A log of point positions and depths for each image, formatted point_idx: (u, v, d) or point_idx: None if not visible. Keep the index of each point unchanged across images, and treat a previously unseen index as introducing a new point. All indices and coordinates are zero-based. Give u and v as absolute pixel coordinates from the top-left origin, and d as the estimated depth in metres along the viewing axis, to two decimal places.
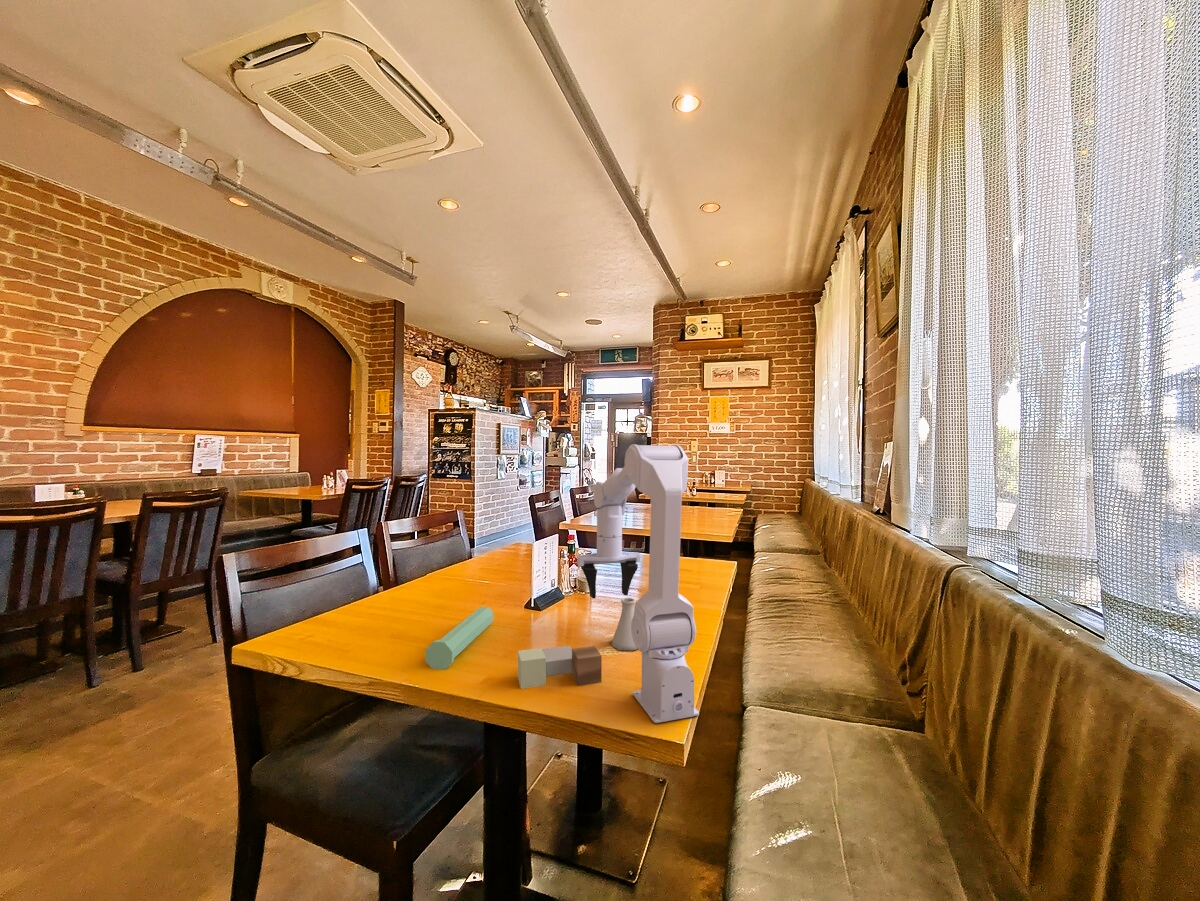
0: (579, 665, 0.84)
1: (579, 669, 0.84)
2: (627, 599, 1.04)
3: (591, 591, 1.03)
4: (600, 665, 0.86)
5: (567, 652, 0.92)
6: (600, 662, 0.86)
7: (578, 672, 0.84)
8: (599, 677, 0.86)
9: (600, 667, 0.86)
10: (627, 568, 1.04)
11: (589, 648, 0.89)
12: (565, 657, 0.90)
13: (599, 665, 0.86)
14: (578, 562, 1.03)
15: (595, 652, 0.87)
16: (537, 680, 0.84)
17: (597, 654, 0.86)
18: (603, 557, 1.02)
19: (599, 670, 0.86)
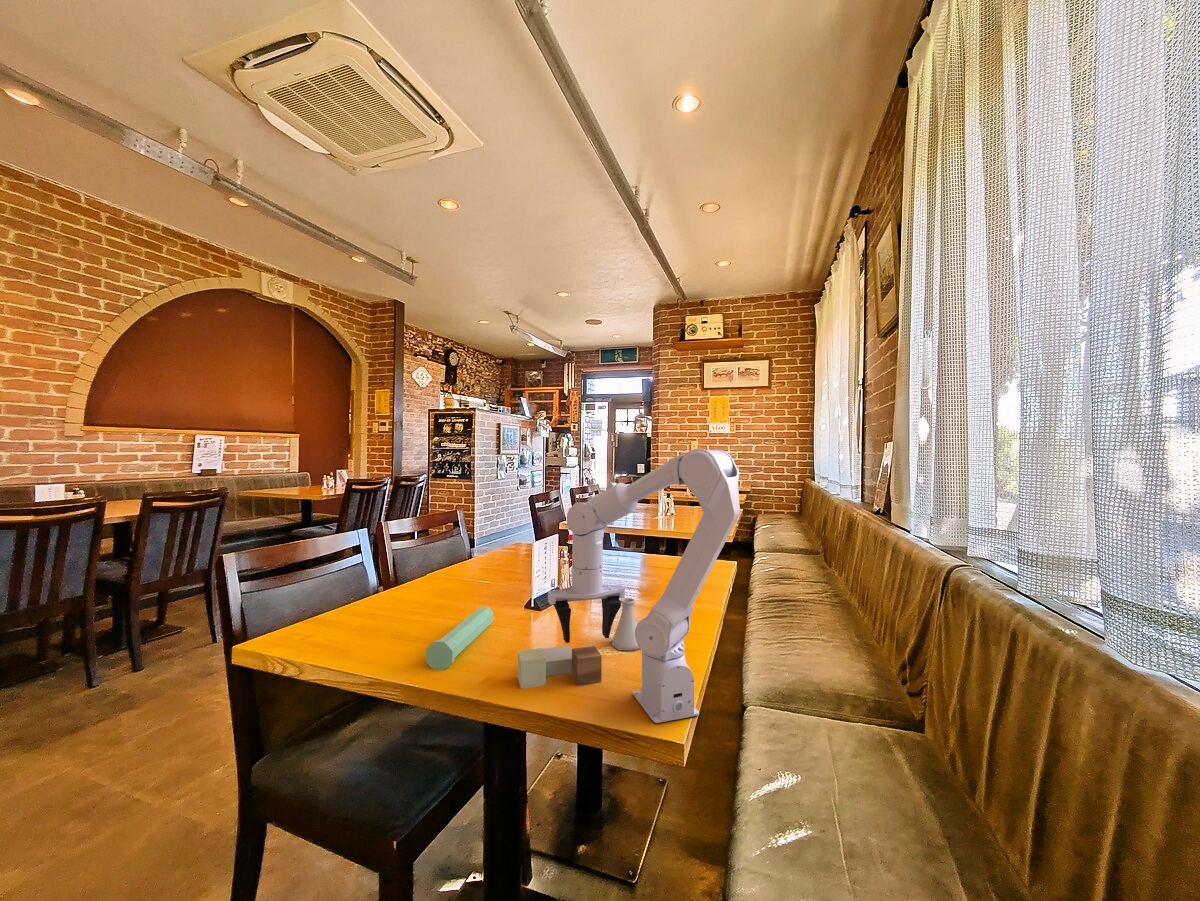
0: (579, 665, 0.84)
1: (579, 669, 0.84)
2: (627, 599, 1.04)
3: (564, 634, 0.85)
4: (600, 665, 0.86)
5: (567, 652, 0.92)
6: (600, 662, 0.86)
7: (578, 672, 0.84)
8: (599, 677, 0.86)
9: (600, 667, 0.86)
10: (608, 606, 0.87)
11: (589, 648, 0.89)
12: (565, 657, 0.90)
13: (599, 665, 0.86)
14: (549, 599, 0.85)
15: (595, 652, 0.87)
16: (537, 680, 0.84)
17: (597, 654, 0.86)
18: (579, 593, 0.85)
19: (599, 670, 0.86)
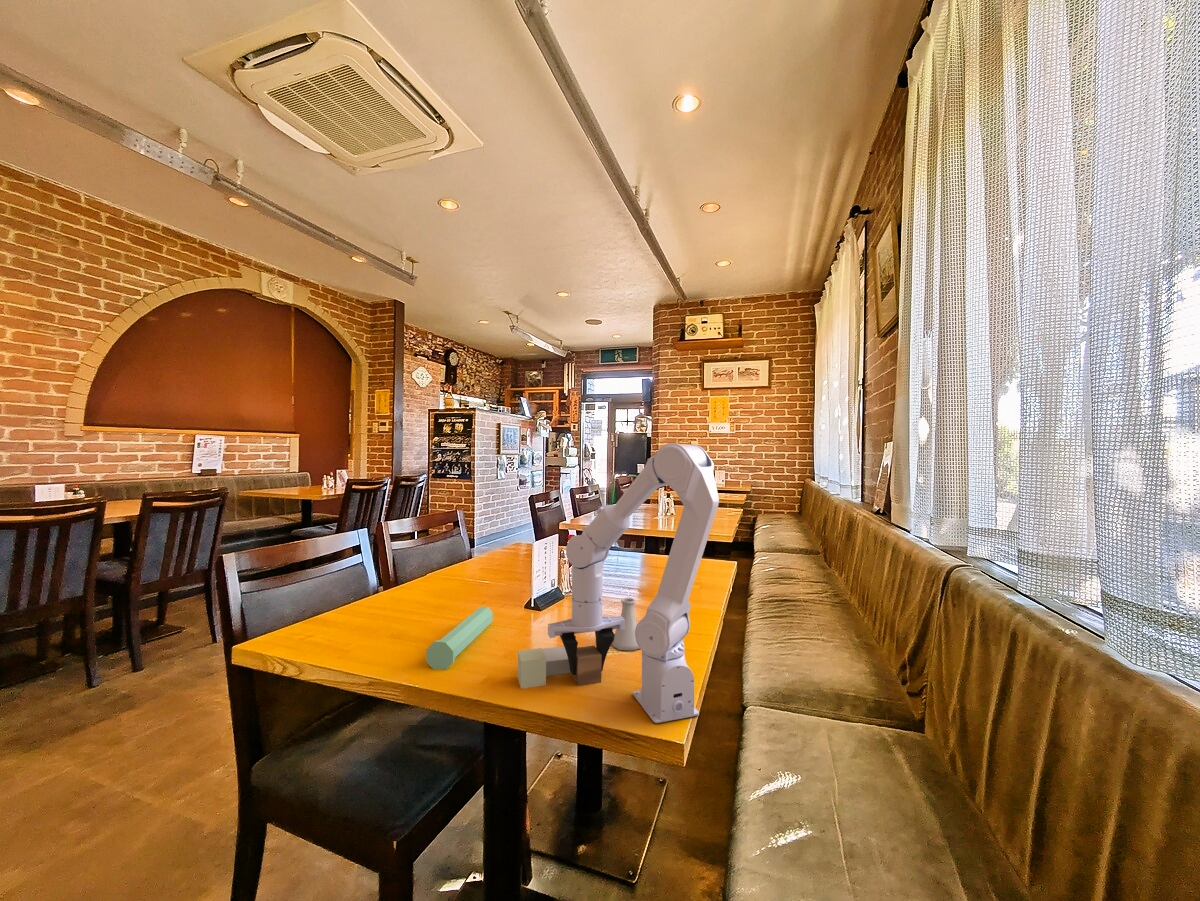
0: (579, 664, 0.84)
1: (579, 668, 0.84)
2: (627, 599, 1.04)
3: (571, 666, 0.86)
4: (600, 665, 0.86)
5: None
6: (600, 662, 0.86)
7: (578, 671, 0.84)
8: (599, 677, 0.86)
9: (600, 667, 0.86)
10: (602, 639, 0.86)
11: (589, 648, 0.89)
12: (565, 657, 0.90)
13: (599, 664, 0.86)
14: (548, 632, 0.85)
15: (595, 652, 0.87)
16: (536, 680, 0.84)
17: (597, 654, 0.86)
18: (579, 626, 0.84)
19: (599, 670, 0.86)
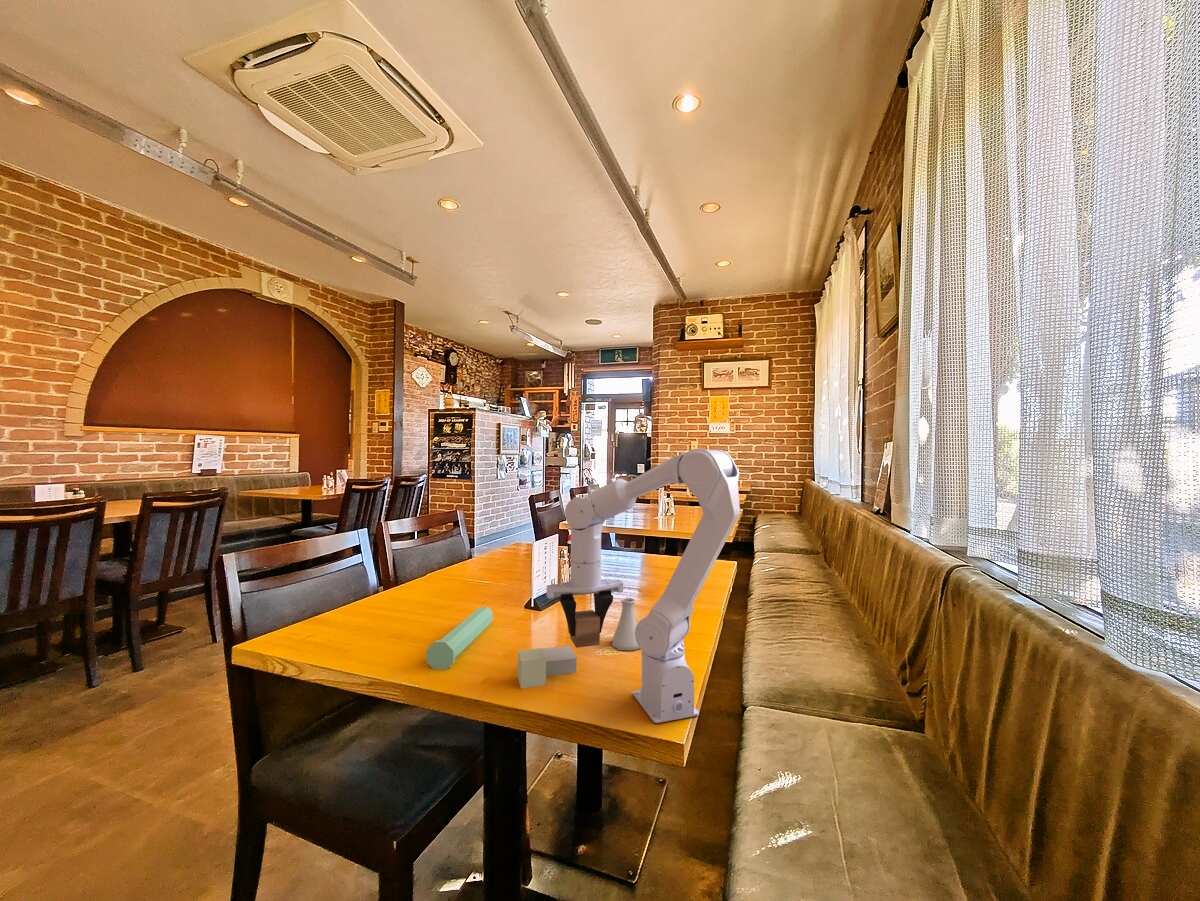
0: (577, 627, 0.85)
1: (577, 631, 0.85)
2: (627, 599, 1.04)
3: (570, 627, 0.86)
4: (598, 627, 0.86)
5: (567, 652, 0.92)
6: (598, 624, 0.86)
7: (576, 634, 0.85)
8: (597, 639, 0.86)
9: (598, 629, 0.86)
10: (600, 601, 0.86)
11: (587, 612, 0.89)
12: (565, 657, 0.90)
13: (597, 627, 0.86)
14: (547, 593, 0.85)
15: (593, 615, 0.87)
16: (536, 680, 0.84)
17: (595, 616, 0.87)
18: (577, 587, 0.85)
19: (597, 632, 0.86)
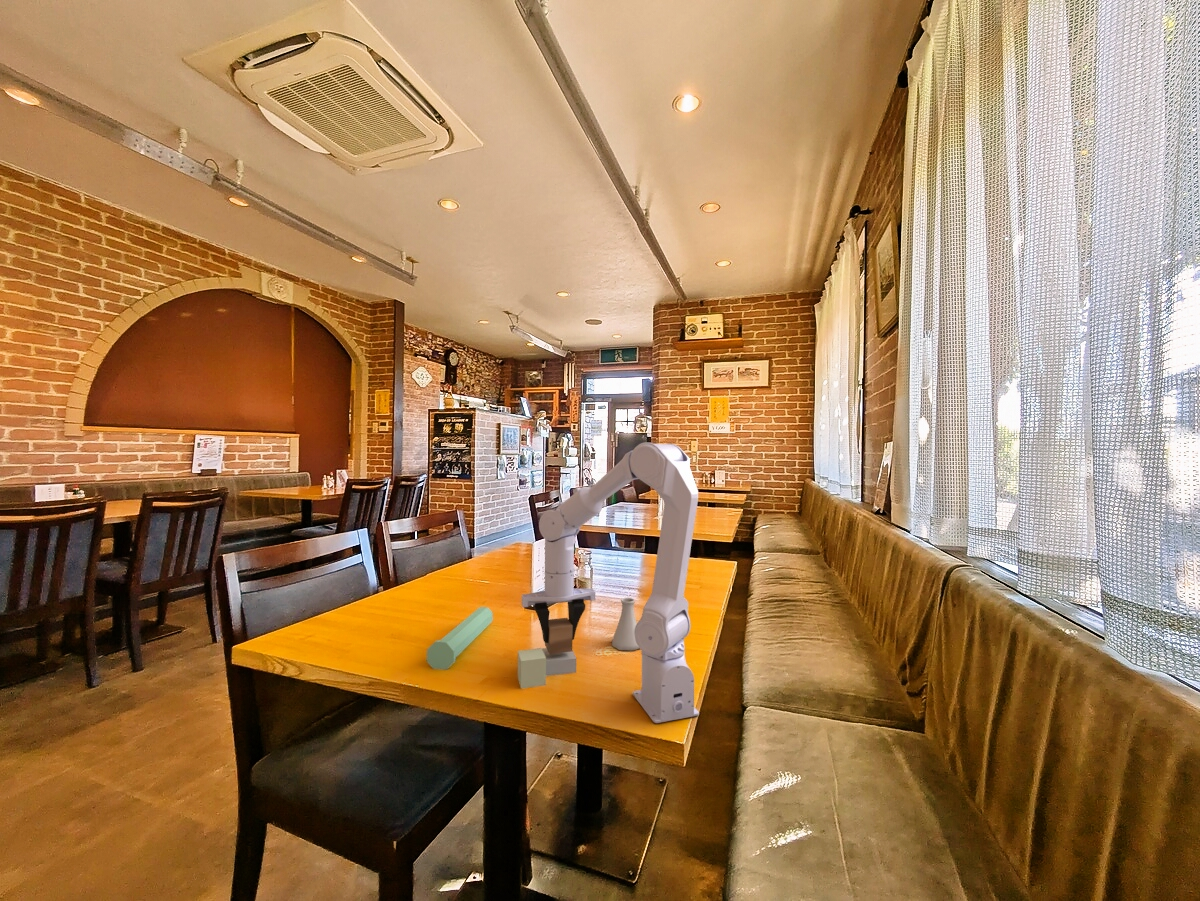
0: (551, 634, 0.89)
1: (551, 638, 0.89)
2: (627, 599, 1.04)
3: (544, 634, 0.90)
4: (571, 634, 0.90)
5: (567, 652, 0.92)
6: (571, 632, 0.90)
7: (550, 641, 0.89)
8: (570, 646, 0.90)
9: (571, 636, 0.90)
10: (573, 609, 0.91)
11: (561, 619, 0.93)
12: (565, 657, 0.90)
13: (570, 634, 0.90)
14: (522, 602, 0.89)
15: (567, 623, 0.92)
16: (536, 680, 0.84)
17: (568, 624, 0.91)
18: (550, 597, 0.89)
19: (570, 639, 0.90)
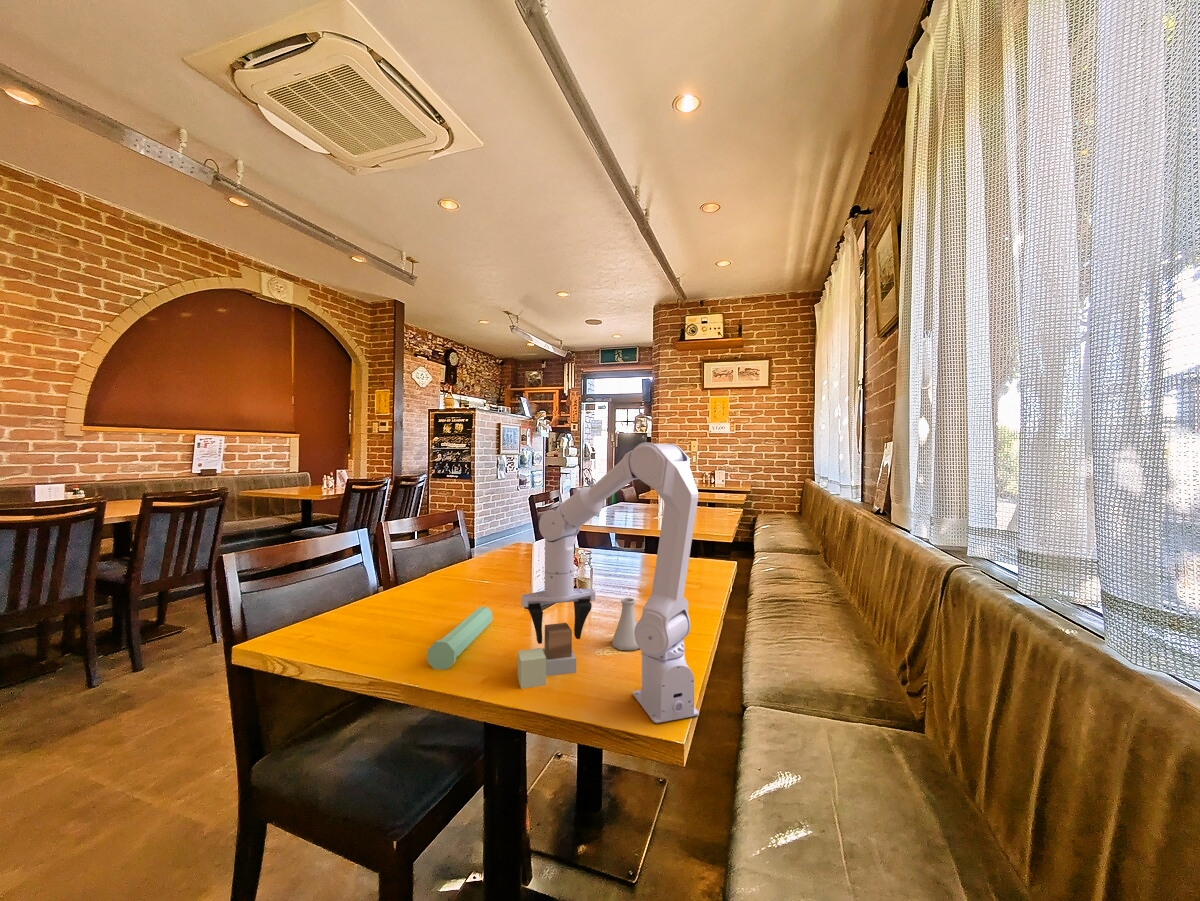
0: (550, 639, 0.89)
1: (550, 643, 0.89)
2: (627, 599, 1.04)
3: (537, 635, 0.90)
4: (570, 640, 0.90)
5: None
6: (570, 637, 0.90)
7: (549, 646, 0.89)
8: (569, 651, 0.90)
9: (570, 642, 0.90)
10: (579, 608, 0.91)
11: (561, 624, 0.93)
12: (564, 657, 0.90)
13: (569, 639, 0.90)
14: (522, 602, 0.89)
15: (566, 628, 0.92)
16: (536, 680, 0.84)
17: (568, 629, 0.91)
18: (550, 597, 0.89)
19: (569, 644, 0.90)
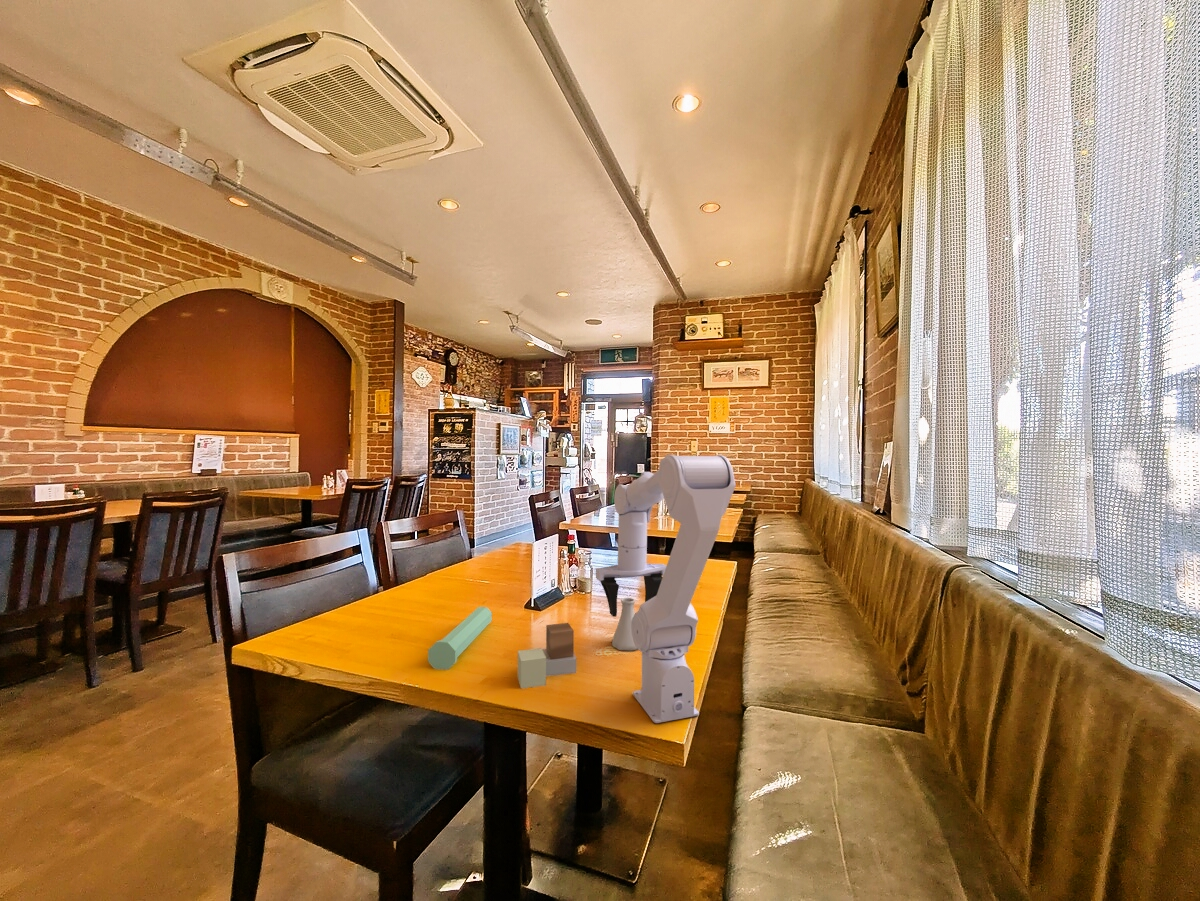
0: (552, 639, 0.89)
1: (552, 643, 0.89)
2: (627, 599, 1.04)
3: (611, 608, 0.91)
4: (572, 639, 0.90)
5: None
6: (572, 637, 0.90)
7: (551, 646, 0.89)
8: (571, 651, 0.90)
9: (572, 641, 0.90)
10: (652, 582, 0.92)
11: (563, 624, 0.93)
12: (565, 657, 0.90)
13: (571, 639, 0.90)
14: (597, 576, 0.90)
15: (568, 628, 0.92)
16: (536, 680, 0.84)
17: (569, 629, 0.91)
18: (626, 570, 0.90)
19: (571, 644, 0.90)
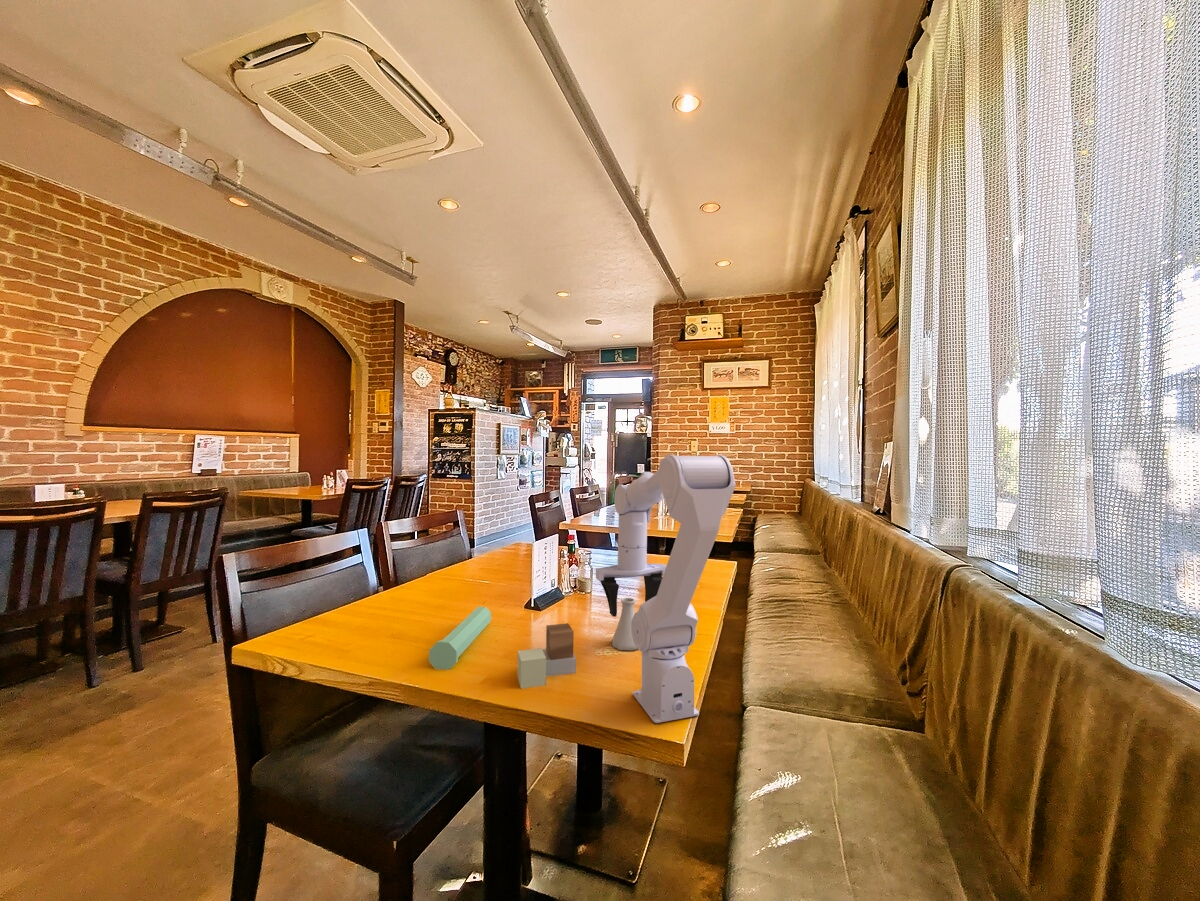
0: (552, 640, 0.89)
1: (552, 644, 0.89)
2: (627, 599, 1.04)
3: (611, 608, 0.91)
4: (572, 640, 0.90)
5: None
6: (572, 637, 0.90)
7: (551, 646, 0.89)
8: (571, 652, 0.90)
9: (572, 642, 0.90)
10: (652, 582, 0.92)
11: (563, 625, 0.93)
12: None
13: (571, 640, 0.90)
14: (597, 576, 0.90)
15: (568, 628, 0.91)
16: (536, 680, 0.84)
17: (569, 630, 0.91)
18: (626, 570, 0.90)
19: (571, 645, 0.90)
